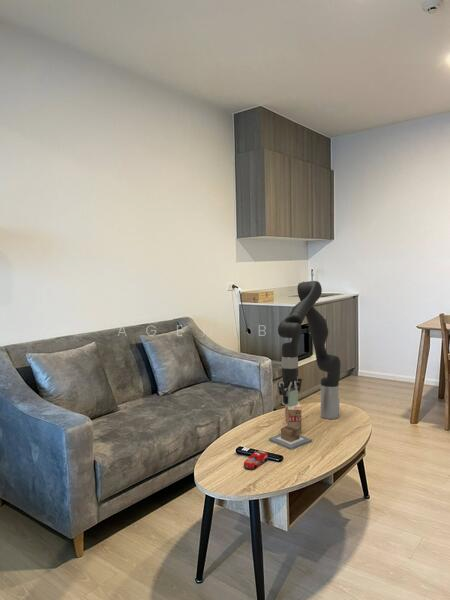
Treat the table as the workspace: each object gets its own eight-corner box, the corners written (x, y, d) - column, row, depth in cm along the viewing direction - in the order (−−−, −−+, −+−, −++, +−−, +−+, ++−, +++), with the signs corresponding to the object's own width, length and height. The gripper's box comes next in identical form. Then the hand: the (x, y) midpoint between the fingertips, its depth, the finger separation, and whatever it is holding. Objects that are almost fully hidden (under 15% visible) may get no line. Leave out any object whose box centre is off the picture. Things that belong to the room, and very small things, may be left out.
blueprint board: (289, 432, 211) (289, 420, 210) (312, 441, 200) (311, 428, 199) (268, 440, 202) (268, 427, 202) (290, 449, 191) (290, 436, 191)
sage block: (289, 402, 203) (289, 387, 203) (297, 404, 199) (297, 389, 199) (282, 404, 200) (282, 389, 200) (290, 407, 196) (290, 391, 196)
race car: (252, 472, 172) (252, 462, 172) (241, 468, 175) (241, 458, 175) (270, 460, 182) (270, 450, 182) (259, 456, 185) (259, 447, 185)
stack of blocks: (284, 418, 232) (284, 395, 231) (296, 418, 232) (296, 395, 231) (288, 434, 211) (288, 409, 210) (301, 434, 210) (301, 409, 209)
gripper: (294, 362, 206) (294, 397, 207) (272, 367, 197) (273, 403, 198) (306, 365, 200) (306, 401, 201) (284, 369, 191) (285, 407, 192)
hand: (289, 402), depth 200 cm, fingers closed on sage block, 5 cm apart
